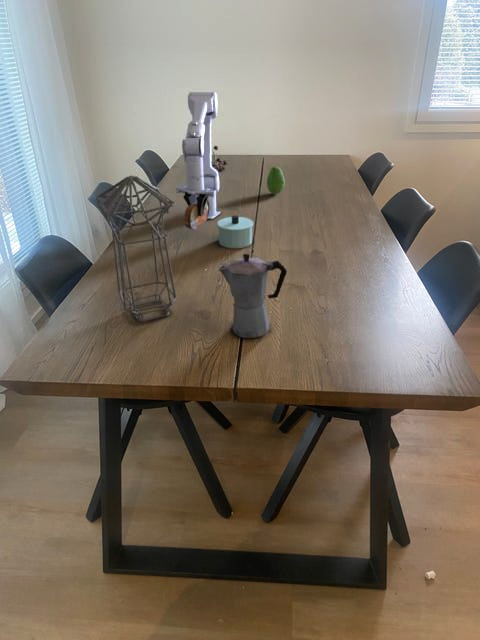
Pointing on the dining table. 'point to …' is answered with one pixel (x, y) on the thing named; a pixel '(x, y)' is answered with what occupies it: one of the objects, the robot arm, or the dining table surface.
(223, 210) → the dining table surface
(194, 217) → the tin
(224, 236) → the pot
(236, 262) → the moka pot
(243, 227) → the pot lid
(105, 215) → the geometric lantern
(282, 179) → the avocado
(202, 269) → the dining table surface
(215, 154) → the decorative branch
